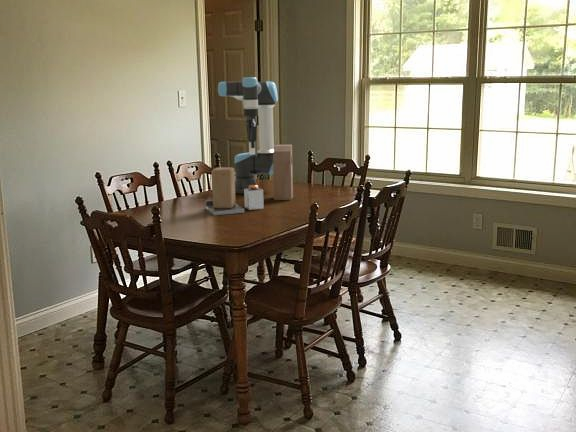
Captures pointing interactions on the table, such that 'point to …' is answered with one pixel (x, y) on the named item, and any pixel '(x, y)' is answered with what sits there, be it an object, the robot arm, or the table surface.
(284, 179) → the decorative block
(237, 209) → the press bed
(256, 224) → the table surface
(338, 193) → the table surface
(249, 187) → the press pin
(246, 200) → the pin housing
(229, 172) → the wooden block
